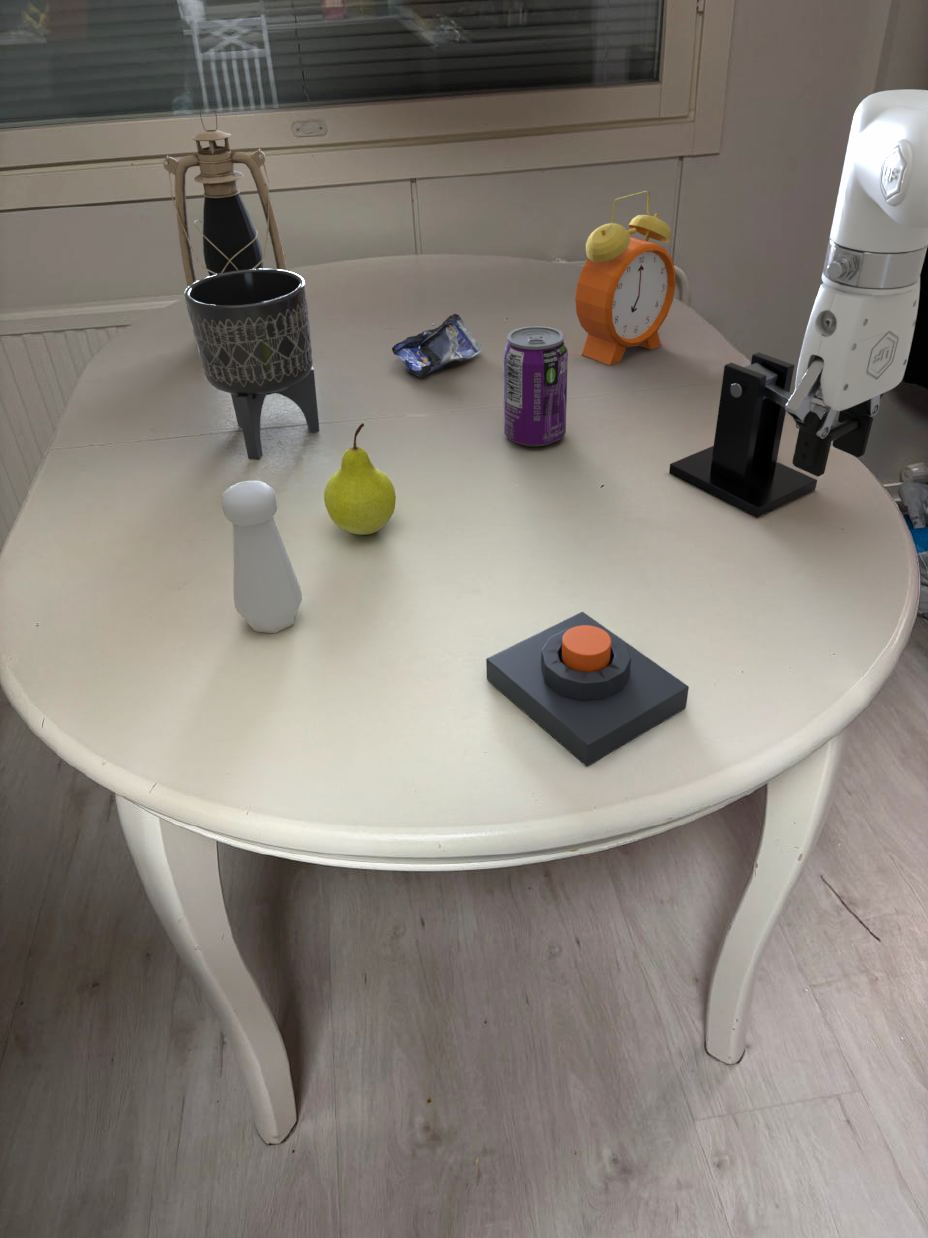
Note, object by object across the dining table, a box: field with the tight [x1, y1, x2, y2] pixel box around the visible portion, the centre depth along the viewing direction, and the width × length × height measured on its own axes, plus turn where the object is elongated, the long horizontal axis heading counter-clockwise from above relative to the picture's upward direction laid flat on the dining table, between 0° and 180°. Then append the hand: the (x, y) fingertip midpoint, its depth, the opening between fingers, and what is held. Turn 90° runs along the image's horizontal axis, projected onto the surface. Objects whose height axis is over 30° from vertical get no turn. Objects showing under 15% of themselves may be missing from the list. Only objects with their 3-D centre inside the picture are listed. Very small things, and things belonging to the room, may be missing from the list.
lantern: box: [162, 106, 288, 288], centre depth 130 cm, size 14×12×30 cm
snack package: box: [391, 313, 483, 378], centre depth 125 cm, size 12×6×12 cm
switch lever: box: [744, 363, 861, 442], centre depth 88 cm, size 12×5×2 cm, turn 35°
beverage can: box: [502, 325, 569, 448], centre depth 104 cm, size 7×7×12 cm
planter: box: [183, 268, 320, 461], centre depth 105 cm, size 13×13×18 cm
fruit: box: [323, 422, 397, 536], centre depth 89 cm, size 7×7×12 cm
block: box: [485, 611, 690, 767], centre depth 71 cm, size 12×10×4 cm
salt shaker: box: [221, 480, 303, 634], centre depth 77 cm, size 6×6×13 cm
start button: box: [562, 625, 611, 673], centre depth 69 cm, size 4×4×2 cm
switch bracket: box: [668, 352, 818, 519], centre depth 93 cm, size 12×9×13 cm
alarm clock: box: [574, 190, 677, 366], centre depth 122 cm, size 13×6×20 cm, turn 129°
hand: (828, 458), depth 87 cm, fingers closed on switch lever, 5 cm apart
